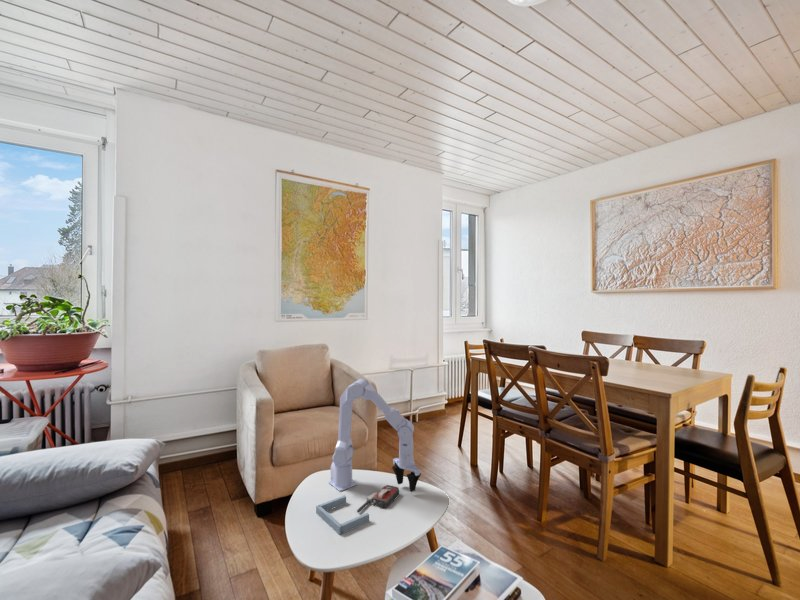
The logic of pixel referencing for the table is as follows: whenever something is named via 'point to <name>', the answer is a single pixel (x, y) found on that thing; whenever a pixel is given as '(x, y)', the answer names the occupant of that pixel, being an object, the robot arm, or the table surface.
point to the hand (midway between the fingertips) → (406, 487)
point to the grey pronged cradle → (333, 523)
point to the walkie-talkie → (382, 497)
